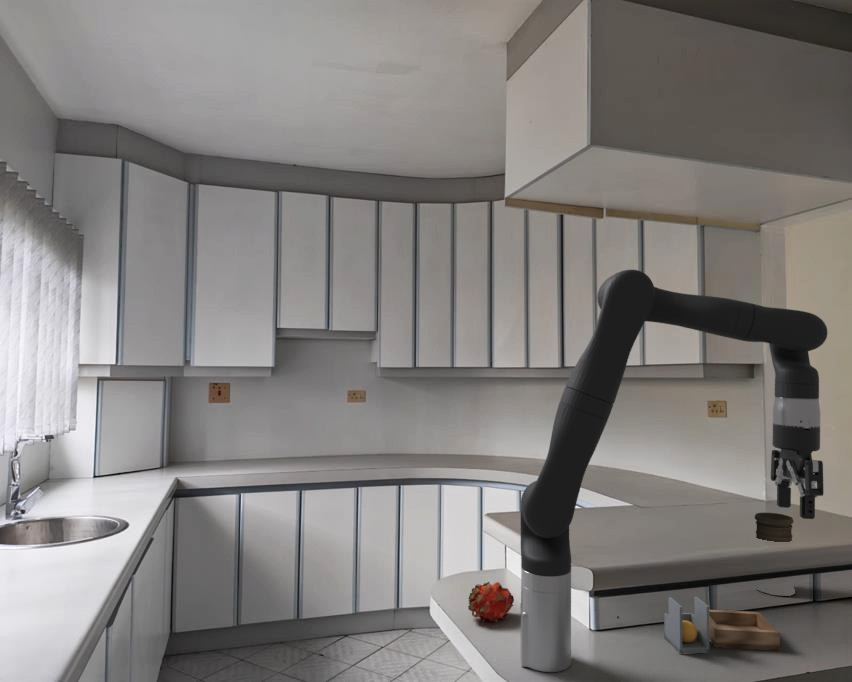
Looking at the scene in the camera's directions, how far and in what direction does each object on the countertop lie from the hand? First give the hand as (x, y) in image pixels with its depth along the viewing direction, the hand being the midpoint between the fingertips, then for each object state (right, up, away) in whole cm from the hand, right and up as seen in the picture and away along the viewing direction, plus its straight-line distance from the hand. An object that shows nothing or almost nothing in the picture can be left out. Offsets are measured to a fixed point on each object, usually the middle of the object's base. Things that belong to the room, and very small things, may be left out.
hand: (795, 512), depth 117 cm
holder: (-16, -29, +11) cm, 35 cm away
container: (+18, -30, +41) cm, 54 cm away
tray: (-4, -29, +14) cm, 33 cm away
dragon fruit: (-53, -29, +23) cm, 65 cm away
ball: (-15, -26, +11) cm, 32 cm away
